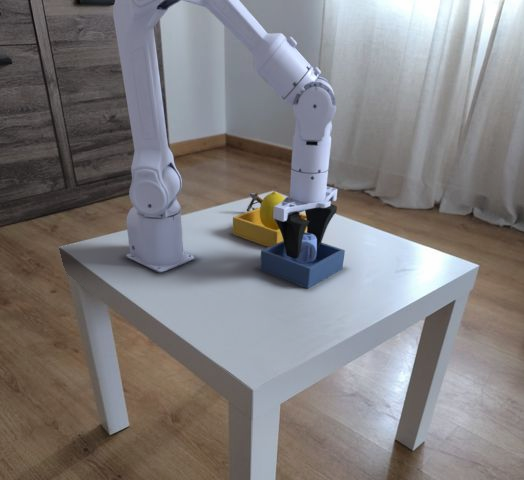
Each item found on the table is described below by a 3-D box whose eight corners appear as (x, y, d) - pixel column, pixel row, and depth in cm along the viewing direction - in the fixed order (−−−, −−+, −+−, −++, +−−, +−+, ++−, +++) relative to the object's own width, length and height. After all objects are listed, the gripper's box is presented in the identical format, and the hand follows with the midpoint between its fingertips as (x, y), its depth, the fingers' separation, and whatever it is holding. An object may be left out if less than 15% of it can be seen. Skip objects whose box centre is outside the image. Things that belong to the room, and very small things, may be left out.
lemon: (284, 238, 95) (286, 197, 90) (256, 235, 96) (257, 194, 91) (289, 228, 99) (291, 188, 95) (262, 225, 100) (263, 186, 96)
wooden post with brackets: (245, 206, 108) (253, 188, 105) (275, 226, 108) (284, 208, 105) (241, 209, 107) (250, 191, 104) (272, 228, 107) (281, 211, 104)
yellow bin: (232, 234, 97) (232, 217, 95) (268, 220, 104) (269, 204, 102) (276, 250, 91) (277, 232, 89) (311, 234, 98) (313, 217, 96)
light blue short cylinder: (291, 263, 82) (293, 240, 80) (290, 253, 85) (291, 231, 83) (315, 264, 82) (317, 241, 80) (313, 254, 85) (315, 232, 83)
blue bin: (260, 269, 84) (260, 250, 82) (296, 252, 91) (297, 234, 89) (308, 288, 79) (309, 268, 77) (342, 268, 85) (345, 250, 83)
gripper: (302, 183, 68) (295, 272, 76) (356, 165, 78) (346, 245, 85) (264, 173, 72) (261, 258, 80) (320, 157, 81) (313, 235, 89)
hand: (303, 251), depth 83 cm, fingers closed on light blue short cylinder, 5 cm apart
